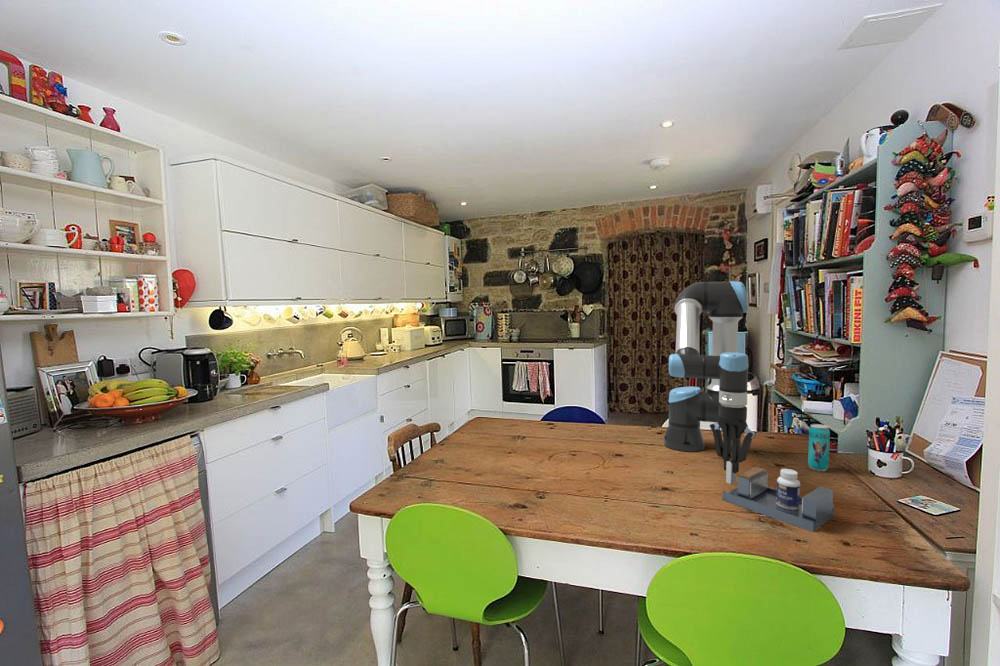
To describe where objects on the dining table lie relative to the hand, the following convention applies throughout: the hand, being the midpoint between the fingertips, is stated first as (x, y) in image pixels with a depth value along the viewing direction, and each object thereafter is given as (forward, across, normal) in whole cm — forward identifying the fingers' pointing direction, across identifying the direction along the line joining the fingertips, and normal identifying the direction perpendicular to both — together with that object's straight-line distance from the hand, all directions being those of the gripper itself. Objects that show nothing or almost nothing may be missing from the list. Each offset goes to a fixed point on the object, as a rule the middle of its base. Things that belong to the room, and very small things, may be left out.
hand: (730, 482), depth 137 cm
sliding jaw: (+1, +6, 0) cm, 7 cm away
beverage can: (+3, +8, +42) cm, 43 cm away
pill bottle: (+2, +16, 0) cm, 16 cm away
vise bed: (+3, +13, 0) cm, 13 cm away
